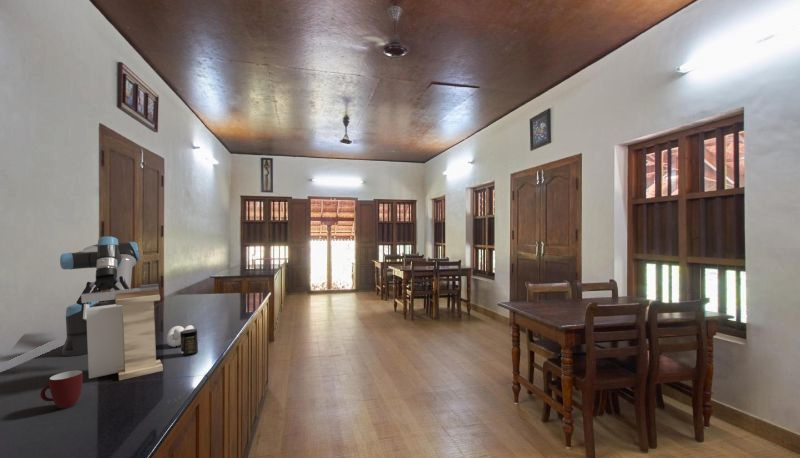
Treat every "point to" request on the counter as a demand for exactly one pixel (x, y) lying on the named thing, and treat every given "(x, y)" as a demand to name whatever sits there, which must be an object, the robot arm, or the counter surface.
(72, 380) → the mug
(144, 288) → the steel bar
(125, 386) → the counter surface
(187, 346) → the supplement container
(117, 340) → the block
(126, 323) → the stand
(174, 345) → the white twisted tube knot
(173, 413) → the counter surface
